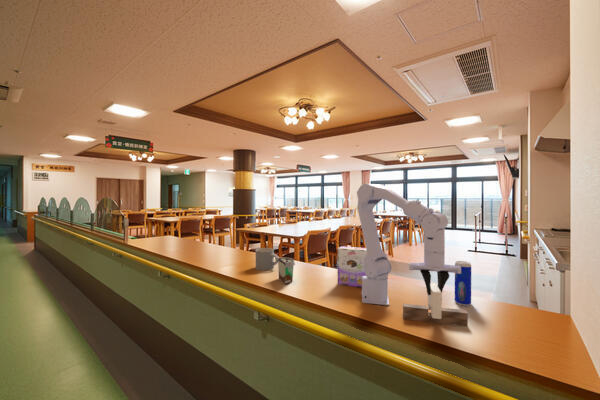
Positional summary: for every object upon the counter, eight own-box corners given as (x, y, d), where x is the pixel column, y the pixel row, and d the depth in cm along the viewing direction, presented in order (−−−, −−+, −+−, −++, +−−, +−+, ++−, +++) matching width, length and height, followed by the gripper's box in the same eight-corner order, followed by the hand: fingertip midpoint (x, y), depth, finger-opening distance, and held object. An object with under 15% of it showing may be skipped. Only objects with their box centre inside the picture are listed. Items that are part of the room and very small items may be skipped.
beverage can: (451, 301, 98) (451, 261, 98) (461, 299, 100) (461, 260, 100) (464, 307, 93) (464, 264, 93) (474, 304, 95) (474, 263, 95)
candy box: (371, 285, 117) (371, 248, 117) (368, 289, 112) (368, 250, 111) (341, 280, 123) (341, 245, 123) (337, 284, 118) (337, 247, 118)
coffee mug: (251, 268, 145) (251, 250, 144) (265, 264, 152) (265, 247, 152) (268, 272, 136) (268, 253, 136) (282, 268, 144) (282, 250, 144)
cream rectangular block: (427, 306, 87) (427, 282, 87) (435, 307, 86) (435, 283, 86) (432, 318, 79) (432, 291, 79) (441, 319, 79) (441, 292, 78)
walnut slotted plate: (403, 318, 84) (403, 306, 84) (402, 315, 87) (402, 303, 87) (467, 326, 79) (467, 313, 79) (465, 322, 82) (465, 310, 82)
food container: (299, 284, 118) (298, 261, 118) (285, 285, 116) (285, 263, 116) (289, 276, 130) (289, 256, 130) (277, 277, 127) (277, 257, 127)
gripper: (410, 252, 81) (410, 296, 81) (464, 255, 77) (464, 301, 77) (408, 248, 88) (408, 288, 88) (457, 250, 84) (457, 293, 84)
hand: (434, 294), depth 83 cm, fingers closed on cream rectangular block, 2 cm apart
